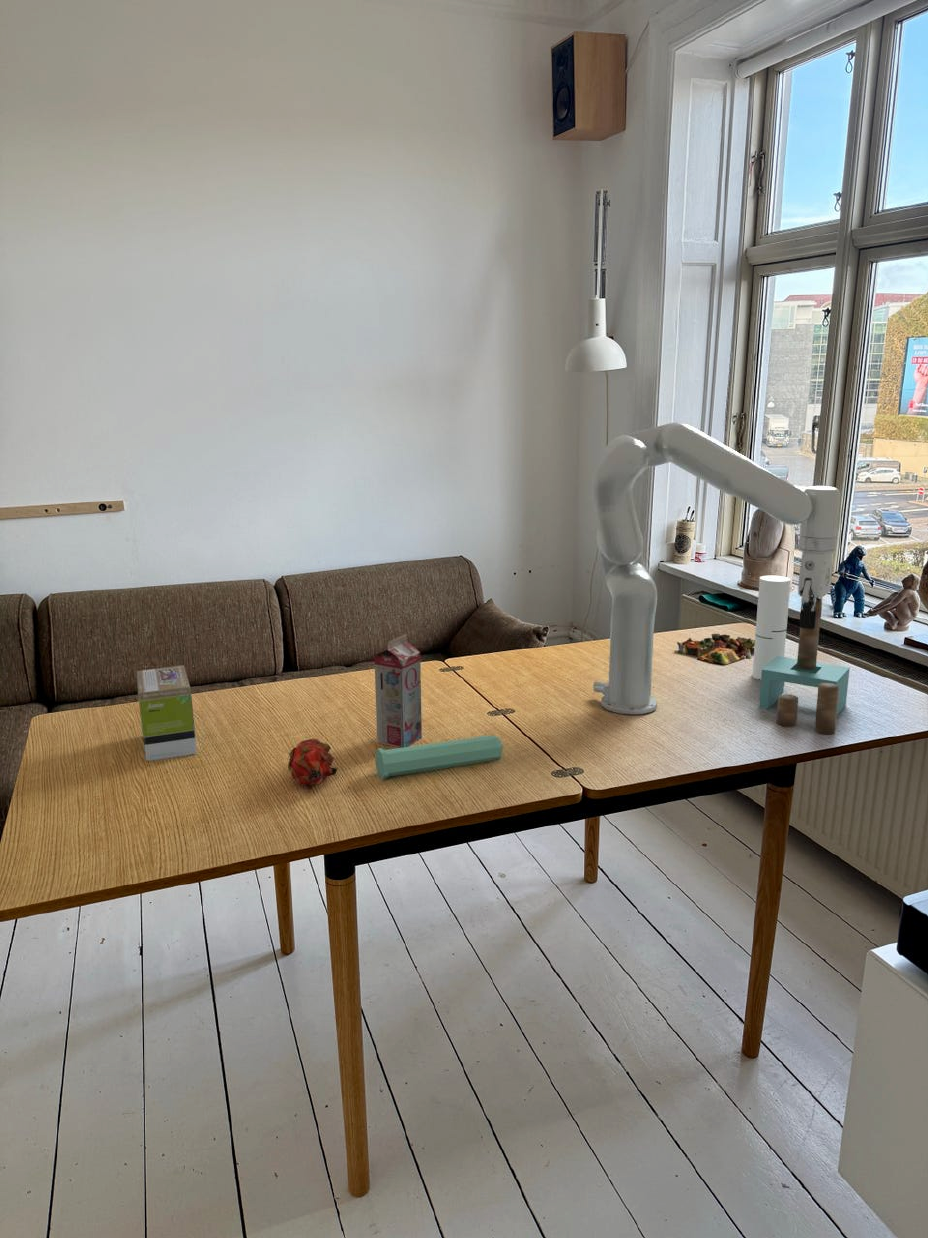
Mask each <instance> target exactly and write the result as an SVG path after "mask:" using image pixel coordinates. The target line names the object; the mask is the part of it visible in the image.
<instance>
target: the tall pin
mask: <svg viewBox="0 0 928 1238" xmlns="http://www.w3.org/2000/svg"><path fill="white" fill-rule="evenodd" d="M809 601H811V602H812V600H809ZM822 605H823V601H822V602H820V601H816V606H815V611H816V620H815V628H814V629H807V628H800V627H799V639H798V648H797V658H796V659H797V667H798V668H800V669H804V670H814V669H816V662H817V660H818V659H817V658H818V657H817V656H818V648H819V640H820V639H819V637H820V628H821V627H820V626H821V621H820V617H821V618H822V611H821V607H822V608H823V606H822Z"/></svg>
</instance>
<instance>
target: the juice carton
mask: <svg viewBox="0 0 928 1238" xmlns="http://www.w3.org/2000/svg"><path fill="white" fill-rule="evenodd" d="M386 646H387V647H386V648H387V649H385V650H383V651H381V652H379V653H377V654H376V655H374V659H373V660H374V685H375V687H374V688H375V711H376V712H375V715H376V718H375V719H376V743H378V744H382V745H386V746H391V747H394V748H404V747H410V746H411V745H413V744H415V743H416V742H418V741H419V740H420V739H422V738H423V730H422V729H423V727H422V725H423V724H422V722H423V721H422V684H421V683H422V682H421V681H422V680H421V677H422V676H421V675H422V673H421V670H422V669H421V652H420V651H419V649H417V648H416V647H415V646H413V645H412V644H411V643H409V642H408V634H407V633H406V634H404V635H401V636H399V637H396V638H394V639H392V640H389V641H388V642H387V645H386Z"/></svg>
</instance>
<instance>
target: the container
mask: <svg viewBox="0 0 928 1238" xmlns="http://www.w3.org/2000/svg"><path fill="white" fill-rule="evenodd" d="M502 743H503V742H502V739H500V738H499V737H498V736H496V735H493V734H492V735H491V734H489V735H482V736H475V737H469V738H461V739H455V740H448V741H442V742H440V741H439V742H433V743H426V744H419V745H412V746H411V745H410V746H408V747H404V748H399V747H396V748H392V749H391V748H390V749H383V748H382V747H381V748H377V749H376V752H375V755H374V757H375V767H376V772H377V775H378V776H379V778H380V779H381V780H386V779H387V778H389V777H394V776H395V777H396V776H402V775H408V774H415V773H422V772H428V771H435V770H436V771H437V770H443V769H448V768H453V767H454V768H455V767H460V766H466V765H471V764H472V765H473V764H478V763H484V762H485V763H486V762H490V761H491V762H492V761H495V760H499V759H500V758H501V757H502V755H503V754H504V753H503V750H504V749H503V748H504V747H503V744H502ZM387 780H388V779H387Z"/></svg>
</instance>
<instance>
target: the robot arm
mask: <svg viewBox="0 0 928 1238" xmlns="http://www.w3.org/2000/svg"><path fill="white" fill-rule="evenodd" d="M603 457H604V458H603V459H602V461H600V463H599V465H598V467H597V469H596V471H595V473H594V475H593V476H594V477H593V480H592V485H591V495H592V503H593V509H594V512H595V519H596V523H597V527H598V529H597V532H596V545H597V550H598V554H599V558H600V562H601V567H602V570H603V575H604V578H605V582H606V585H607V590H608V591H609V594H610V595H611V598H612V599H611V601H612V602H611V605H612V606H611V616H610V629H609V631H610V633H609V634H610V635H609V657H608V658H609V662H608V663H609V664H608V681H607V682H606V683H605V682H604V681H598V680H595V681H594V682H593V686H592V687H593V692H595V693H599V694H602V695H603V696H602V697H601V700H600V705H601V706H602V707H603V708H604V709H606V710H607V711H609V712H613V713H616V714H617V713H618V714H621V715H622V714H623V715H644V714H648V713H651V712H654V711H655V710H656V709H657V708H658V701H657V699H656V698H654V697H653V696H651V695H652V694H651V693H652V674H653V672H652V671H653V659H654V655H653V654H654V653H653V652H654V634H655V633H654V632H655V618H656V612H657V611H656V610H657V606H658V591H657V590H658V589H657V585H656V583H655V581H654V579H653V578H652V576H651V574H650V573H649V572H648V571H647V567H646V564H645V558H644V556H643V555H644V554H643V551H644V545H645V544H644V537H643V534H642V532H641V529H640V524H639V521H638V517H637V516H638V515H637V512H636V507H635V502H634V501H635V500H634V497H633V490H634V489H633V488H634V484H635V482H636V480H637V479H638V478H639V477H640V476H641V475H642V474H643V473H644V472H645V471H646V469H650V468H653V467H658V466H661V465H665V464H669V463H671V464H673V465H674V466H677V468H678V467H679V468H681V469H682V470H684V471H685V472H687V473H689V474H690V475H693V476H694V477H696V478H698V479H699V480H701V481H703V482H705V483H707V484H708V485H710V486H712V487H714V488H716V489H717V490H720V491H721V492H723V493H725V494H727V495H729V496H732V497H734V498H737V499H740V500H742V501H744V502H746V503H748V504H750V505H752V506H753V507H755V508H758V509H759V510H760V511H762V512H764V513H766V514H767V515H768V516H770V517H771V518H773V519H775V520H777V521H779V522H781V523H783V524H785V525H789V526H795V525H796V526H797V525H800V526H799V539H798V549H797V550H798V551H800V552H802V553H801V559H800V567H799V573H798V574H799V577H798V585H797V589H798V590H797V594H798V596H799V597H801V598H800V599H801V600H800V601H801V602H800V603H801V604H800V611H799V612H800V613H799V625H798V626H799V629H800V628H807V629H814V628H815V620H816V611H815V606H816V601H820V602H822V603H823V598H824V597H825V596H826V595H828V594H829V593H830V591H831V590H832V589H831V588H832V576H833V575H832V574H833V573H832V572H833V554H834V553H835V552H836V546H837V536H838V525H839V516H840V514H839V513H840V504H841V491H840V490H839V489H838V488H837V487H834V486H829V485H828V486H827V485H813V486H812V485H811V486H808V487H807V486H797V485H794V484H791V482H788V481H786V480H785V479H783V478H781V477H779V476H778V475H776V474H774V473H773V472H770V471H769V470H767V469H765V468H763V467H761V466H760V465H758V464H757V463H755V462H754V461H752V460H751V459H749V458H748V457H746V456H745V455H742V454H741V453H739V452H738V451H736V450H734V449H732V448H730V447H729V446H726V445H725V444H723V443H722V442H720V441H718V440H717V439H715V438H713V437H711V436H709V435H707V434H706V433H705V432H703V431H701V430H699V429H697V428H695V427H693V426H691V425H689V424H687V423H682V422H670V423H666V424H661V425H658V426H656V427H655V426H654V427H652V428H651V427H650V428H648V429H642V430H638V431H634V432H631V433H626V434H622V435H619V436H617V437H614V438H613V439H611V441H609V443H608V444H607V446H606V447H605V450H604V456H603ZM809 600H812V602H811V601H809ZM822 608H823V606H822V607H821V612H822V611H823V609H822ZM821 620H822V616H821V617H820V622H821Z"/></svg>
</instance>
